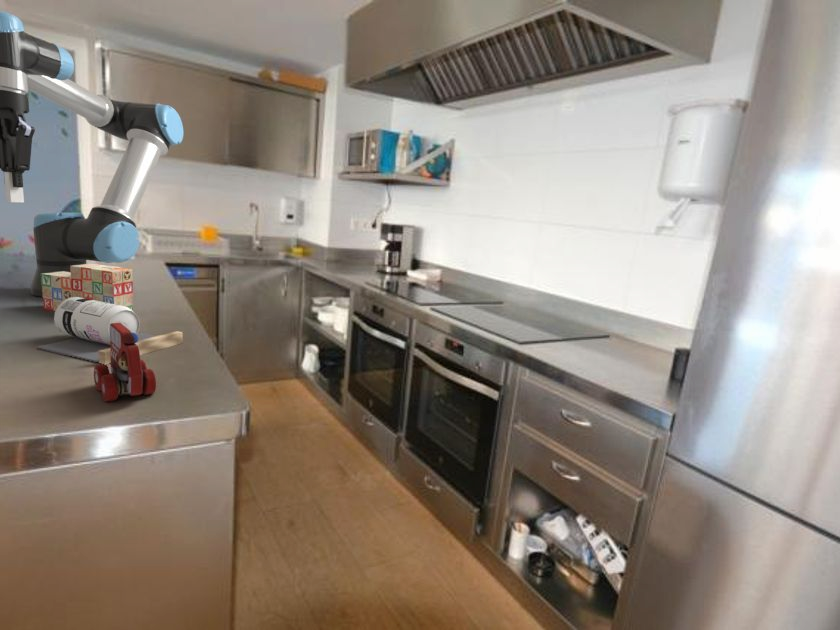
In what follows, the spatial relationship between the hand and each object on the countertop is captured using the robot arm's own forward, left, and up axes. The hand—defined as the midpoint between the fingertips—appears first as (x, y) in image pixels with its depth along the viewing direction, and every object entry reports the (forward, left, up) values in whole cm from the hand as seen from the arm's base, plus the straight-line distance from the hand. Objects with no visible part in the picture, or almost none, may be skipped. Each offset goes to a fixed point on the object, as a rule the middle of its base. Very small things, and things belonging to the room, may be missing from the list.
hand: (15, 202), depth 110 cm
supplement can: (+6, +24, -22) cm, 33 cm away
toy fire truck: (+22, +58, -27) cm, 68 cm away
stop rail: (+6, +44, -26) cm, 52 cm away
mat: (+6, +35, -26) cm, 44 cm away
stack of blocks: (-10, +8, -27) cm, 30 cm away
